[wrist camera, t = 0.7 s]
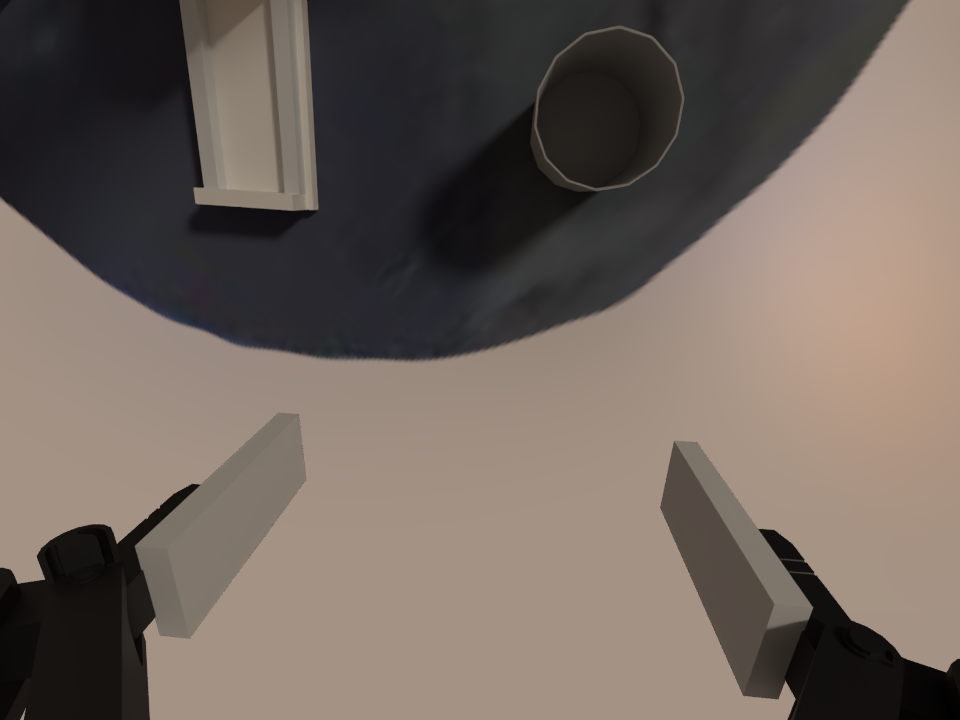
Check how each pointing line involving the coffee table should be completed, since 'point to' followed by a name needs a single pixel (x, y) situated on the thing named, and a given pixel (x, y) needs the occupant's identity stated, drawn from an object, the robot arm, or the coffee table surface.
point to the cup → (606, 110)
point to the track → (252, 102)
